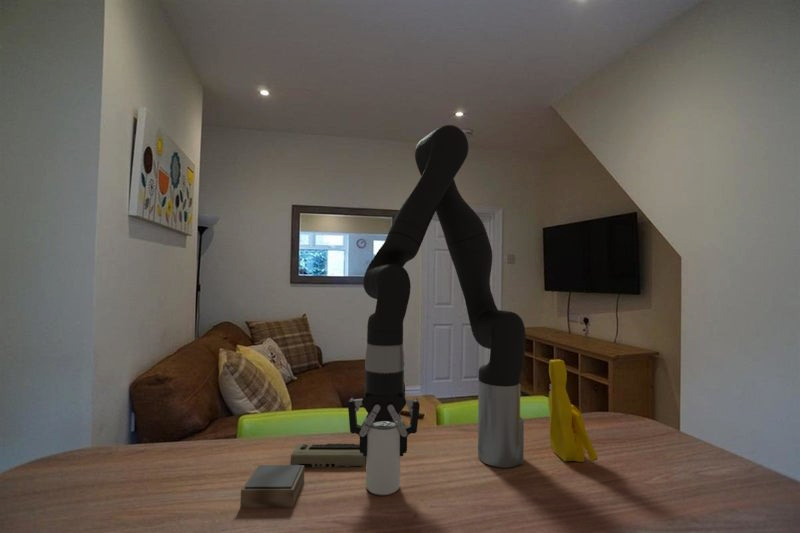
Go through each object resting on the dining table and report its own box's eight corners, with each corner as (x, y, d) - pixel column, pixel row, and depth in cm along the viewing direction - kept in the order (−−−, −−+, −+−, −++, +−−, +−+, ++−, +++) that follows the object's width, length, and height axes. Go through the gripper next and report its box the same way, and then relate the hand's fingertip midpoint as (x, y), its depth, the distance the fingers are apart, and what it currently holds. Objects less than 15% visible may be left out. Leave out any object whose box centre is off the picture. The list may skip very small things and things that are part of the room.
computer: (366, 452, 89) (366, 438, 90) (364, 469, 81) (365, 453, 82) (298, 453, 89) (298, 438, 89) (289, 470, 81) (290, 454, 81)
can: (359, 492, 72) (361, 426, 72) (375, 476, 78) (376, 416, 78) (391, 499, 69) (392, 432, 70) (404, 482, 75) (405, 420, 76)
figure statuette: (606, 475, 79) (605, 368, 80) (570, 476, 79) (569, 368, 80) (563, 440, 97) (563, 353, 98) (533, 441, 96) (533, 353, 98)
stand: (304, 481, 75) (304, 463, 76) (293, 507, 66) (293, 488, 67) (257, 481, 75) (258, 463, 75) (240, 507, 66) (240, 488, 66)
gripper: (419, 363, 79) (418, 446, 78) (349, 362, 78) (347, 446, 77) (423, 371, 71) (422, 463, 70) (345, 370, 71) (343, 463, 70)
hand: (383, 454), depth 74 cm, fingers closed on can, 6 cm apart
